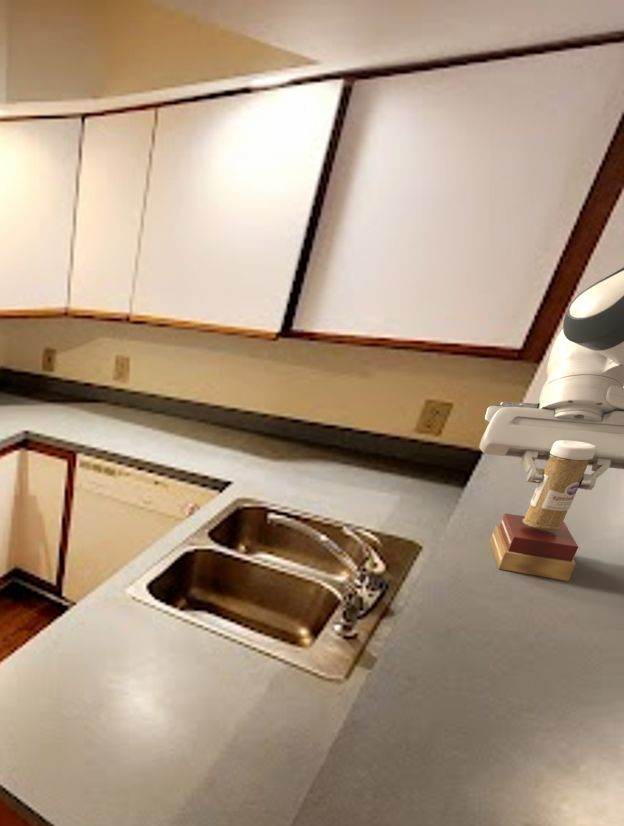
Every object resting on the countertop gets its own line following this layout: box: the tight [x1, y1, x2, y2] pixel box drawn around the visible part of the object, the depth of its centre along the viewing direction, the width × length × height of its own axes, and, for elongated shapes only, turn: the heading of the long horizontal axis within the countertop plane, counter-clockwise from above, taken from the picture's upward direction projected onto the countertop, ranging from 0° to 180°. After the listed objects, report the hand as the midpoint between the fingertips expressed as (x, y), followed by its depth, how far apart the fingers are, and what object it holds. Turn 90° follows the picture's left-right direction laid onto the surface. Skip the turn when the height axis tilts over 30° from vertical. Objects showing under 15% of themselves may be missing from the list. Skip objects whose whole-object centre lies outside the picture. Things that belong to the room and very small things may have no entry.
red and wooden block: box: [489, 513, 579, 582], centre depth 99 cm, size 8×12×6 cm, turn 145°
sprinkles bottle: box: [523, 440, 597, 530], centre depth 95 cm, size 5×5×14 cm
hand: (559, 484), depth 95 cm, fingers closed on sprinkles bottle, 4 cm apart
